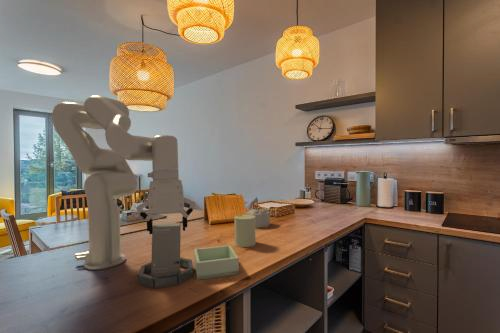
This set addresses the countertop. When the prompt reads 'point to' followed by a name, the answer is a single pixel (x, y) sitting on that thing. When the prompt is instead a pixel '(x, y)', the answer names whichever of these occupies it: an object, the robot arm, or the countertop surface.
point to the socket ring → (165, 280)
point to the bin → (215, 262)
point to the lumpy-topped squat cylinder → (260, 217)
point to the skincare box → (165, 249)
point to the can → (244, 230)
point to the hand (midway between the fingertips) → (167, 231)
